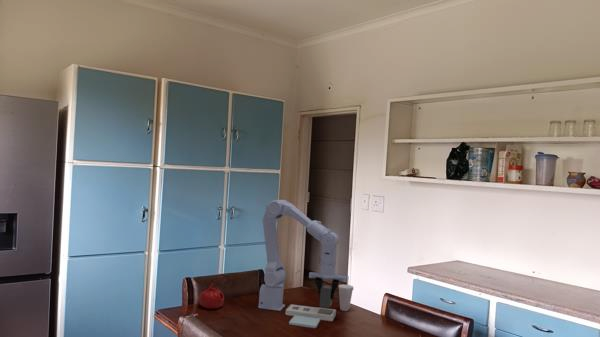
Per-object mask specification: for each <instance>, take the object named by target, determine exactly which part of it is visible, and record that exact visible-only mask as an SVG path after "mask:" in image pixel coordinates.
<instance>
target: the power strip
mask: <svg viewBox="0 0 600 337" xmlns="http://www.w3.org/2000/svg"><path fill="white" fill-rule="evenodd" d="M336 314H337V309H332V308H327V307H315V306H307V305H298V304H292V303H291V304H290V305H288V307H286V309H285V315H286V316H291V317H294V315H298V316H305V317H313V318H320V321H328V322H334V319H335V317H336Z"/></svg>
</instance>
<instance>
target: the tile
mask: <svg viewBox="0 0 600 337" xmlns="http://www.w3.org/2000/svg"><path fill="white" fill-rule="evenodd" d="M320 322H321V320H320V318H313V317H305V316H298V315H294V316H292V318H291V319H290V320H289V322H288V325H290V326H291V325H292V326H298V327H305V328H311V329H316V328H317V327H318V325H319V323H320Z"/></svg>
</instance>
